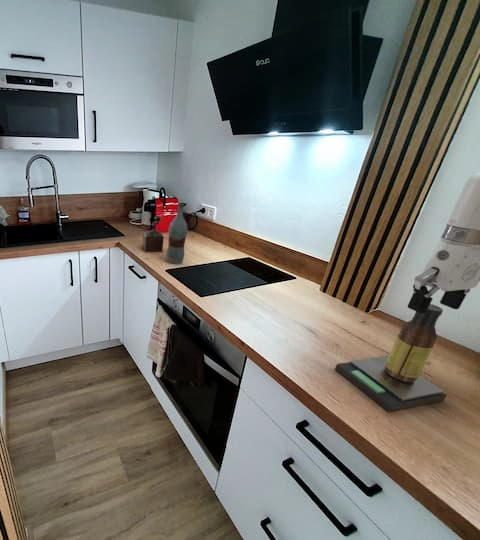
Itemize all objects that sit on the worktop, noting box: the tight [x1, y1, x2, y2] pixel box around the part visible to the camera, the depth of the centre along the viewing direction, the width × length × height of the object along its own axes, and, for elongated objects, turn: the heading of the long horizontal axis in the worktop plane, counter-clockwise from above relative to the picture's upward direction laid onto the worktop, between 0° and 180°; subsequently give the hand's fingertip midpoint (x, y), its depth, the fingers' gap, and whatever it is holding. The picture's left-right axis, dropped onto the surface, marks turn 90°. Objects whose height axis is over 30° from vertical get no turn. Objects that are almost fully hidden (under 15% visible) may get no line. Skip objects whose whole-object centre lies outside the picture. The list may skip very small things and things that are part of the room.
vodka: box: [165, 203, 188, 265], centre depth 144 cm, size 9×9×30 cm
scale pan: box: [349, 354, 446, 401], centre depth 73 cm, size 13×13×1 cm
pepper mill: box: [142, 215, 165, 253], centre depth 166 cm, size 16×11×18 cm
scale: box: [334, 361, 448, 413], centre depth 73 cm, size 17×14×3 cm
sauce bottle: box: [385, 303, 444, 382], centre depth 69 cm, size 6×6×20 cm
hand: (432, 308), depth 65 cm, fingers open, 9 cm apart
